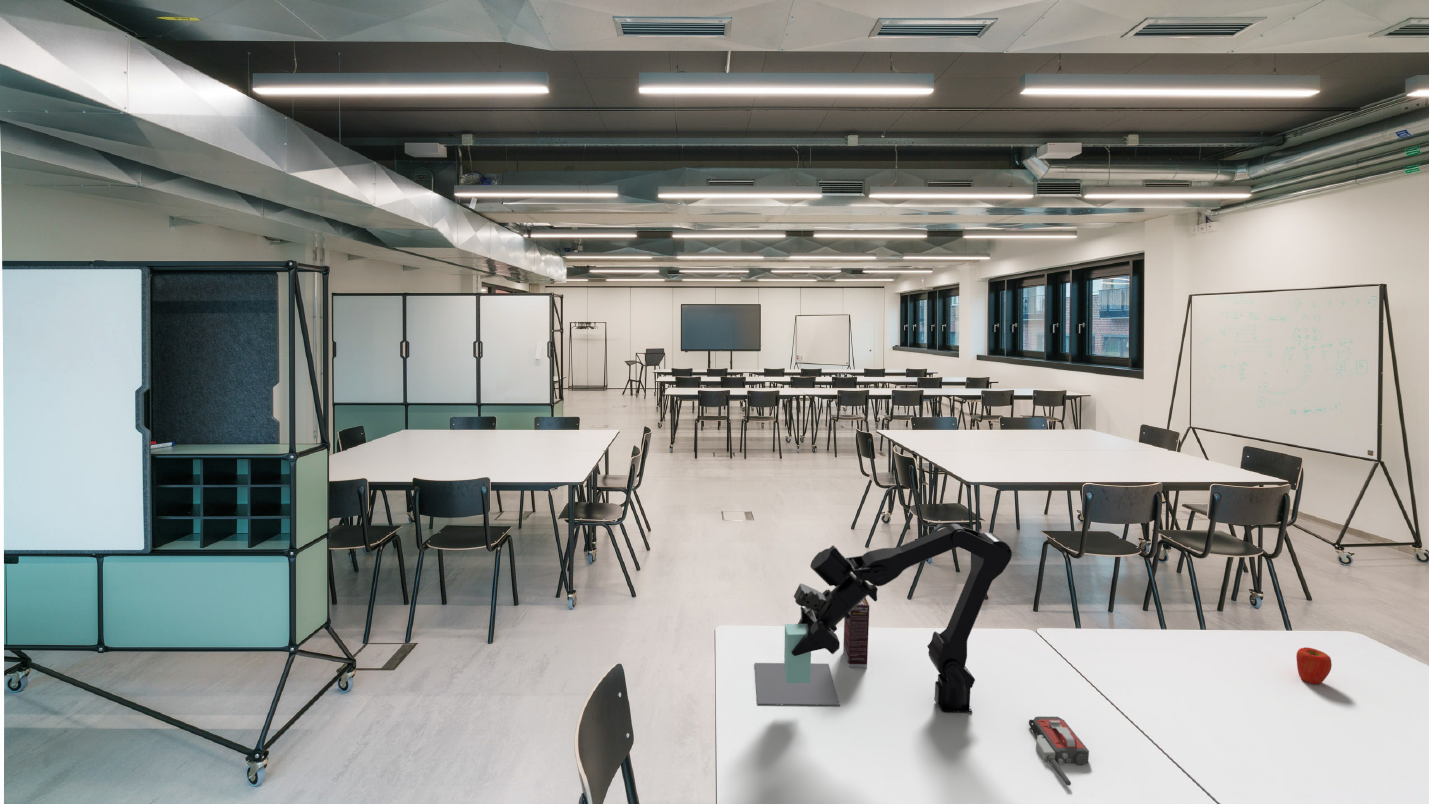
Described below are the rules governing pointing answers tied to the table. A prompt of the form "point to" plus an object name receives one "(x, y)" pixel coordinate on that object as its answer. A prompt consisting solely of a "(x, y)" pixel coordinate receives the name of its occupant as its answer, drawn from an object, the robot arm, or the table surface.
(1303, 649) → the apple
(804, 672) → the teal block
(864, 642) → the supplement box
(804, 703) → the charcoal mat
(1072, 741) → the walkie-talkie
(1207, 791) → the table surface
